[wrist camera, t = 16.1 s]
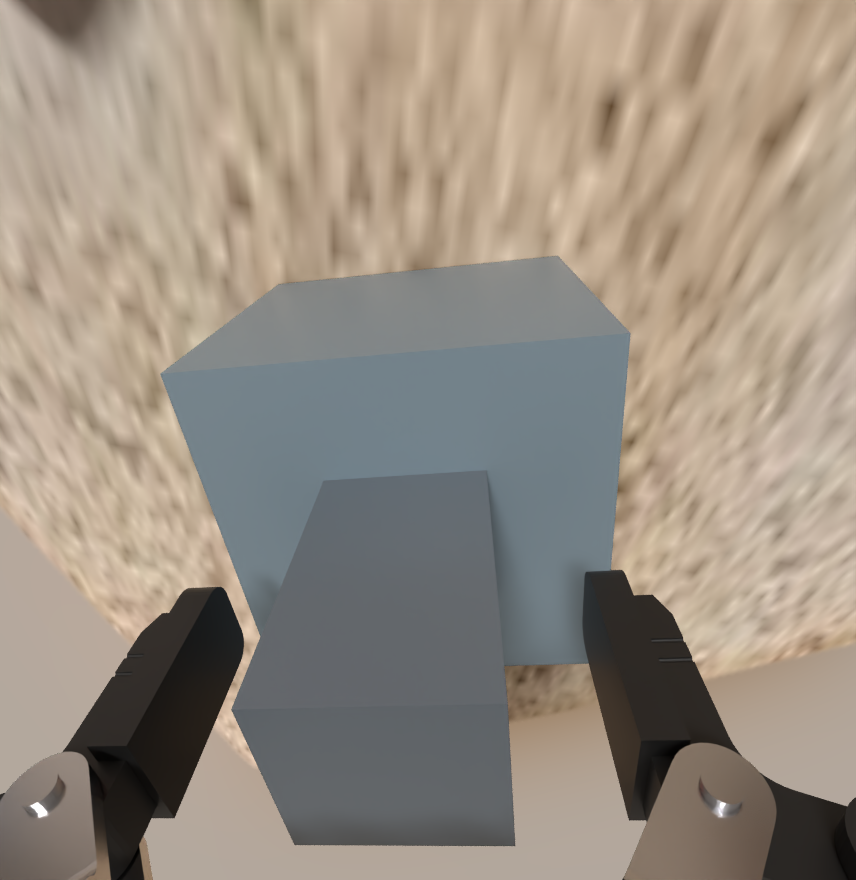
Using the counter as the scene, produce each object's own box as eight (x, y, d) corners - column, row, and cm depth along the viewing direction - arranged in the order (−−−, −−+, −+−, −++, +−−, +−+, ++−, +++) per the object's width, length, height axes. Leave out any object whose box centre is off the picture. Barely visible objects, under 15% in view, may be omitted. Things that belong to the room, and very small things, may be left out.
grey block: (557, 255, 18) (797, 511, 5) (554, 493, 23) (676, 923, 10) (278, 284, 19) (-84, 558, 6) (332, 506, 24) (189, 914, 11)
